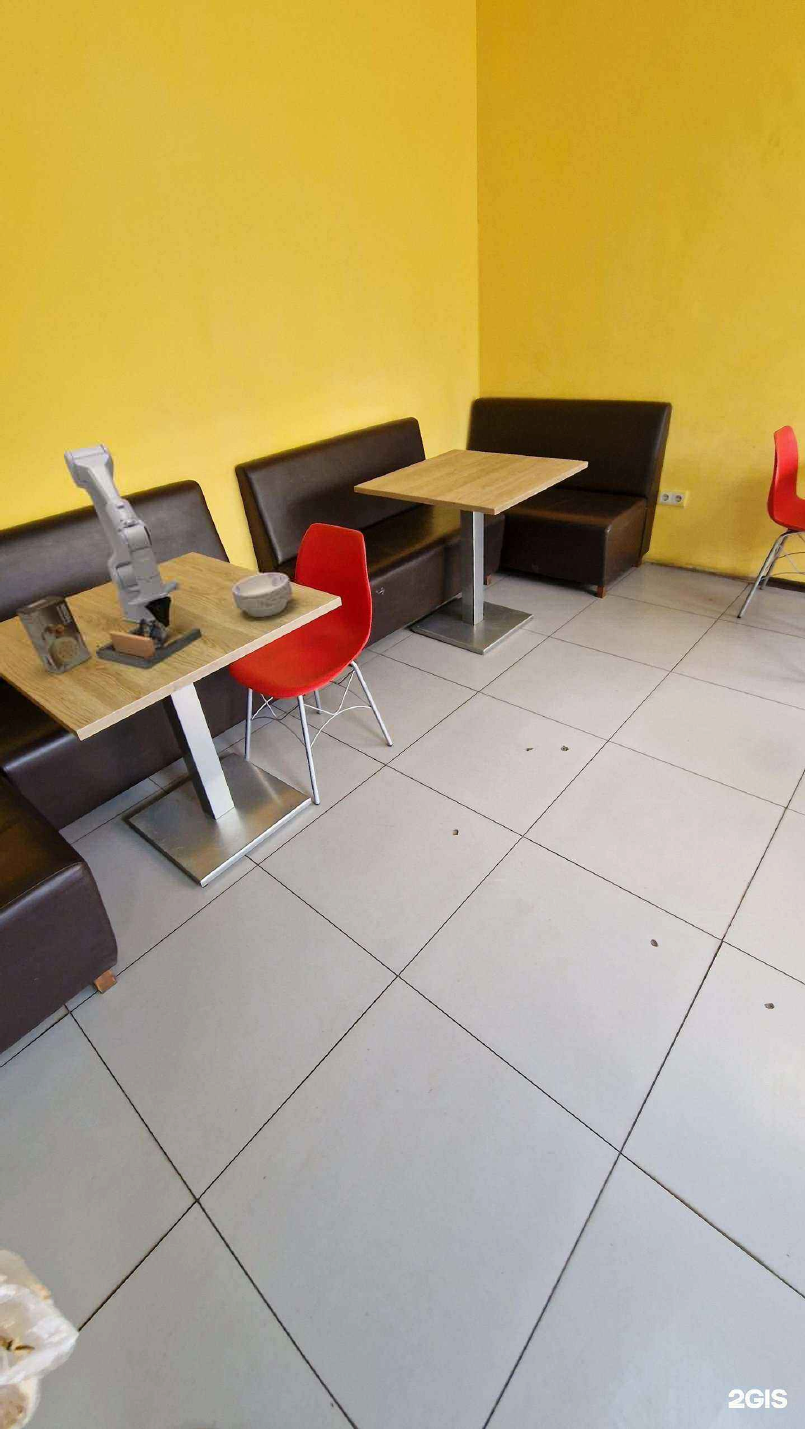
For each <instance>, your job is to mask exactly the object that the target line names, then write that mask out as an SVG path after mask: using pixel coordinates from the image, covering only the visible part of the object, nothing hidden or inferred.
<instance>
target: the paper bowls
mask: <svg viewBox="0 0 805 1429" xmlns="http://www.w3.org/2000/svg"><path fill="white" fill-rule="evenodd" d="M231 593H232V595H233V600H234V602H235V605H236V607H237V608H238V610H241V611H244V612H246V613H247V614H248V615H249V616H251V617H255V618H265V617H270V616H274V615H276V614H279V613H280V612H282V611H283V610H285V608H286V606H287V602H289V601H290V599H291V598H292V597H293V590H292V586H291V581H290V578H289V576H288V575H286V574H284V573H281V572H264V573H258V574H254V575H251V576H248V577H247V576H246V577H245V578H242V579H241V580H239V581H238V582H236V583H235V584H234V585H233V586H232V588H231Z"/></svg>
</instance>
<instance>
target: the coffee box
mask: <svg viewBox="0 0 805 1429" xmlns="http://www.w3.org/2000/svg"><path fill="white" fill-rule="evenodd" d="M15 612H16V614H17V616H18V618H19V620H20V621H21V624H22V626H23V628H24V631H25V632H26V634H27V635H28V636H27V637H28V638H29V640H30V642H31V644H32V646H33V648H34V650H35V652H36V653H37V656H38V658H39V660H40V663H41V664H42V666H43V668H44V670H45V671H48V672H51V673H54V674H57V675H61V674H63V673H66V672H67V671H68V670H70V669H73V668H74V667H76V666H78V665H80V664H82V663H83V662H85V661H87V660H89V659H92V656H91V653H90V651H89V649H88V647H87V644H86V642H85V640H84V638H83V636H82V634H81V632H80V629H79V627H78V624H77V623H76V620H75V617H74V616H73V614H72V611H71V609H70V607H69V604H68V602H67V600H66V598H64V597H61V596H55V595H48V596H46V597H44V598H41V599H39V600H35V601H34V602H32V603H29V604H27V605H24V606H23V607H20V608H18V609H16V610H15Z"/></svg>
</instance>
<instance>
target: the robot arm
mask: <svg viewBox="0 0 805 1429" xmlns="http://www.w3.org/2000/svg"><path fill="white" fill-rule="evenodd" d="M63 455H64V456H63V458H64V462H65V464H66V466H67V469H68V471H69V474H70V476H71V479H72V481H73V483H74V484H75V486H76V487H77V488H79V489H83V490H85V492H86V493H87V494H88V496H89V498H90V500H91V502H92V505H93V507H94V509H95V512H96V514H97V516H98V519H99V521H100V524H101V526H102V528H103V531H104V533H105V535H106V537H107V540H108V543H109V545H110V547H111V549H112V551H113V553H112V555H111V557H110V558H109V559H108V560H107V568H108V571H109V575H110V577H111V580H112V582H113V585H114V587H115V588H116V589H117V590H118V591H117V598H118V602H119V603H120V607H121V609H122V612H123V615H124V617H123V618H122V620H123V621H125V622H132V623H136V624H140V620H141V619H145V620H147V621H150V620H155V621H157V622H159V623H162V624H163V625H164V626H165V627H166V628H168V627H170V626H171V625H170V622H171V621H170V609H171V604H172V599H171V597H170V596H168V595H169V594H170V593H172V592H174V591H178V590H181V586H180V584H179V581H176V580H172V581H170V582H168V583H164V581H163V578H162V576H161V575H162V574H161V573H160V569H159V566H158V564H157V563H158V562H157V560H156V558H155V554H154V551H153V549H152V547H153V546H154V542H153V537H152V535H151V533H150V531H149V529H148V527H147V525H146V524H145V522H143V521H142V519H139V518H138V516H137V515H136V513H135V511H134V509H133V507H132V505H131V503H130V502H129V501H128V500H127V499H125V498H122V497H121V494H120V493H119V490H118V488H117V485H116V484H115V482H114V474H115V471H114V470H115V469H114V468H115V464H114V460H113V457H112V454H111V452H110V450H109V448H108V447H107V446H106V445H105V444H103V443H101V444H98V445H93V446H89V447H84V448H80V449H74V450H73V449H72V450H70V451H69V450H66V451H65V452H64V454H63ZM126 562H127V563H126ZM123 563H124V564H123ZM119 564H121V565H119Z"/></svg>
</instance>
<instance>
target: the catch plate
mask: <svg viewBox="0 0 805 1429" xmlns="http://www.w3.org/2000/svg"><path fill="white" fill-rule="evenodd" d="M127 633H128V632H122V631H121V632H120V631H118V630H117V631H116V630H111V631H109V632H108V634H109V637H110V640H111V642H113V645H114V647H115V650H116V651H115V652H119V653H124V654H128V655H132V656H137V657H141V658H146V657H148V656H150V655H151V654H153V653H155V652H156V651H157V650H155V648H154V645H153V643H154V642H153V641H152V640H151V638H146V637H141V636H137V635H132V634H127Z"/></svg>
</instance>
